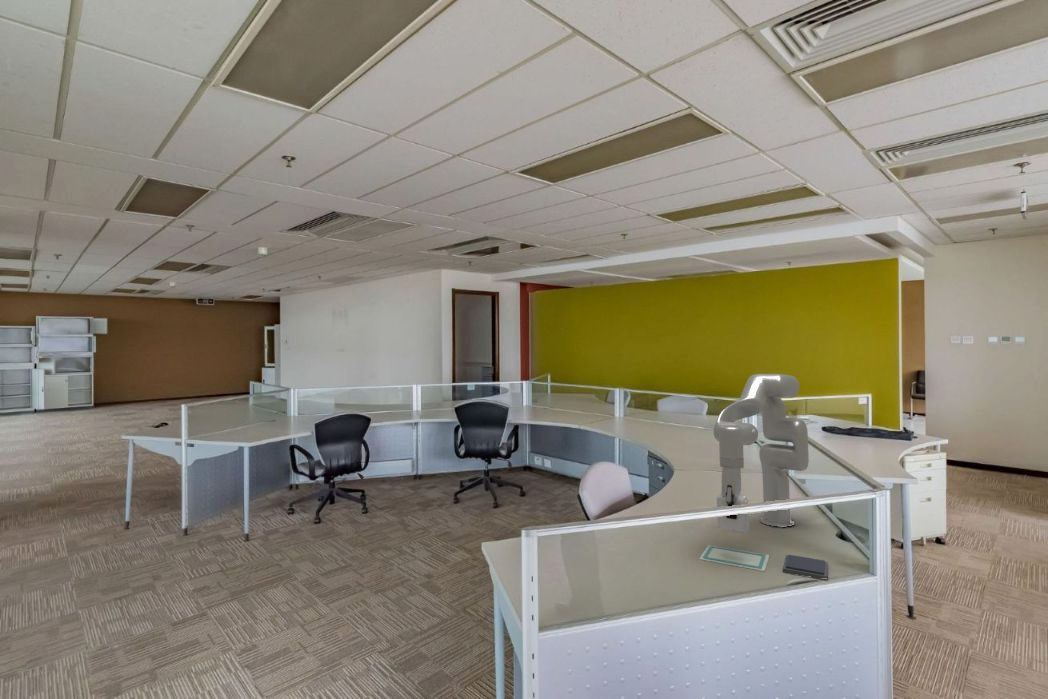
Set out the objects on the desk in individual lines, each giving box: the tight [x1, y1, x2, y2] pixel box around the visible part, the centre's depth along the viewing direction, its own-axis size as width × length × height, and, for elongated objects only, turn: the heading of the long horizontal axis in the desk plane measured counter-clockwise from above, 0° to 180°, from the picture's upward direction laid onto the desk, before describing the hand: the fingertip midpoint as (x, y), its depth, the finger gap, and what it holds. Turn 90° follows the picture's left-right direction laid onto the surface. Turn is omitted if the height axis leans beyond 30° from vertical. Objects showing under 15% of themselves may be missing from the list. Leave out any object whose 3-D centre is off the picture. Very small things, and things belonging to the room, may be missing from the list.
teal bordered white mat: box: [698, 544, 770, 573], centre depth 170 cm, size 14×20×1 cm
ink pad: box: [782, 554, 829, 579], centre depth 160 cm, size 12×12×2 cm
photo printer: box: [716, 491, 750, 533], centre depth 171 cm, size 10×4×12 cm, turn 44°
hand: (733, 515), depth 171 cm, fingers closed on photo printer, 5 cm apart
